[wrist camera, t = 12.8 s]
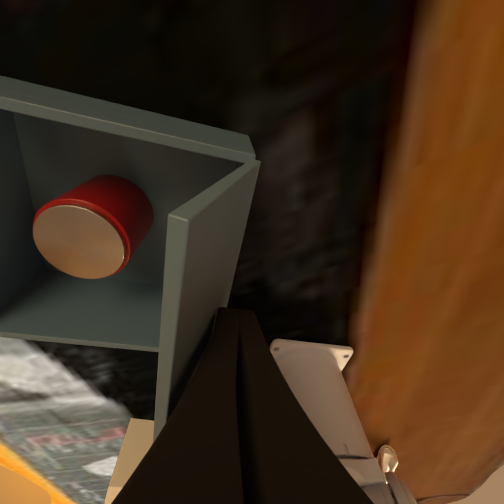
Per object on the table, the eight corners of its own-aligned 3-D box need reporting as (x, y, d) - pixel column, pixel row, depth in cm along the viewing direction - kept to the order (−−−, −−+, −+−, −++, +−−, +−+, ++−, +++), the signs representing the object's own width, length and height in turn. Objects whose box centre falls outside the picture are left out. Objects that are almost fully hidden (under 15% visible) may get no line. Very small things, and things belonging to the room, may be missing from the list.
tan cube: (130, 417, 29) (108, 486, 24) (183, 424, 30) (172, 490, 25) (124, 442, 32) (102, 508, 27) (172, 447, 33) (161, 511, 28)
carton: (248, 135, 15) (256, 154, 10) (216, 293, 20) (211, 357, 15) (2, 75, 13) (-154, 60, 8) (45, 269, 18) (-27, 334, 13)
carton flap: (251, 158, 9) (261, 161, 9) (207, 365, 15) (212, 367, 15) (166, 213, 4) (189, 220, 4) (148, 501, 10) (157, 505, 9)
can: (152, 245, 17) (129, 287, 14) (82, 234, 17) (37, 275, 13) (155, 183, 15) (127, 211, 11) (74, 166, 15) (17, 191, 11)
